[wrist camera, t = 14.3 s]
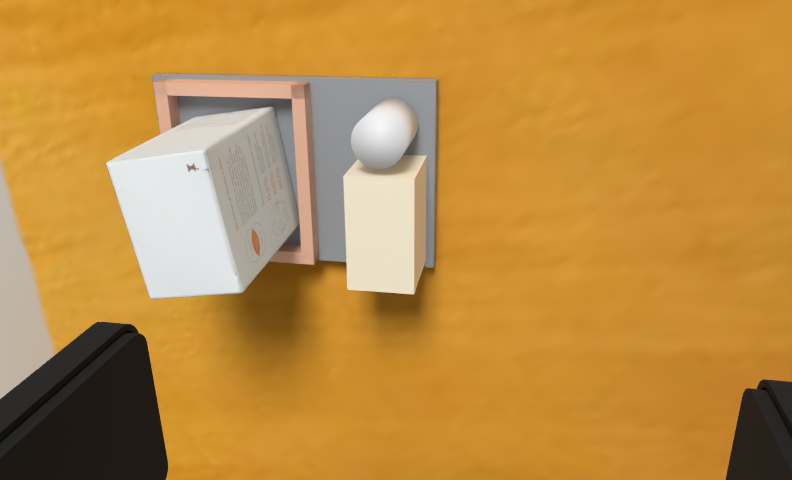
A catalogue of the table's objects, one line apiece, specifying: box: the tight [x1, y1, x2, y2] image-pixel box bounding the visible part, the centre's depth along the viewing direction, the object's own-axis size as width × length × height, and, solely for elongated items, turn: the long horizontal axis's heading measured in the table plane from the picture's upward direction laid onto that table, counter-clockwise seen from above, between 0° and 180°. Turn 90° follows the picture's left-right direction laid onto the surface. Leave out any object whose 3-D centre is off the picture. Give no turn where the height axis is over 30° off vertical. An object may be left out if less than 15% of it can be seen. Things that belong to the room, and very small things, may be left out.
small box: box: [106, 106, 300, 299], centre depth 40 cm, size 8×6×10 cm
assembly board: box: [152, 73, 438, 294], centre depth 42 cm, size 18×12×6 cm, turn 91°
